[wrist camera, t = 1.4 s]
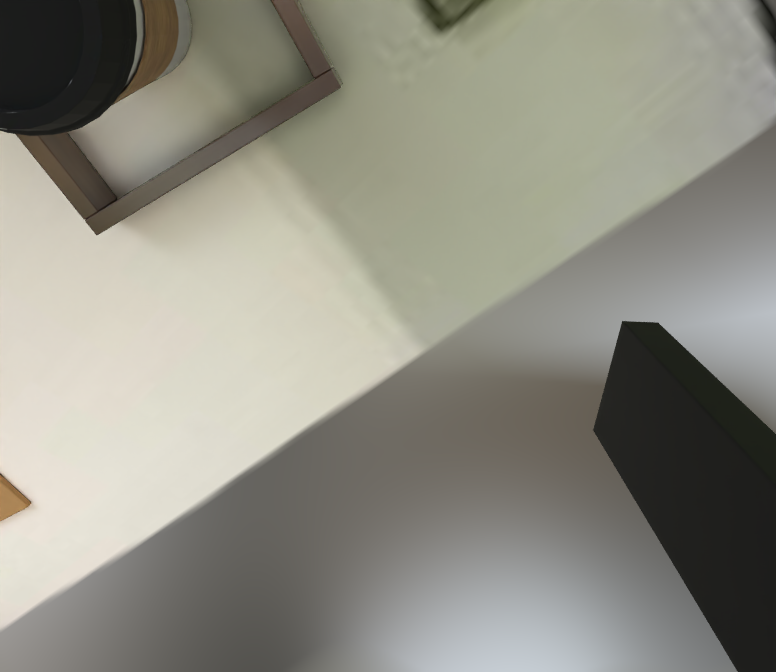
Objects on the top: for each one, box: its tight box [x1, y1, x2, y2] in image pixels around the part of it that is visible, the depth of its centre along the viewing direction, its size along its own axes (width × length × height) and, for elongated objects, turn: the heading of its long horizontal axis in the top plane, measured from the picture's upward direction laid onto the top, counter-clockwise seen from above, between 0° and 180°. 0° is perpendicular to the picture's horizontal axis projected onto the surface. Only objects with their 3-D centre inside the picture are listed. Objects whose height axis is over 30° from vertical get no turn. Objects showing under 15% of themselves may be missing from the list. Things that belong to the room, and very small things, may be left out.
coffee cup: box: [0, 0, 191, 136], centre depth 24 cm, size 8×8×15 cm
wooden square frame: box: [16, 0, 343, 235], centre depth 30 cm, size 16×16×3 cm
